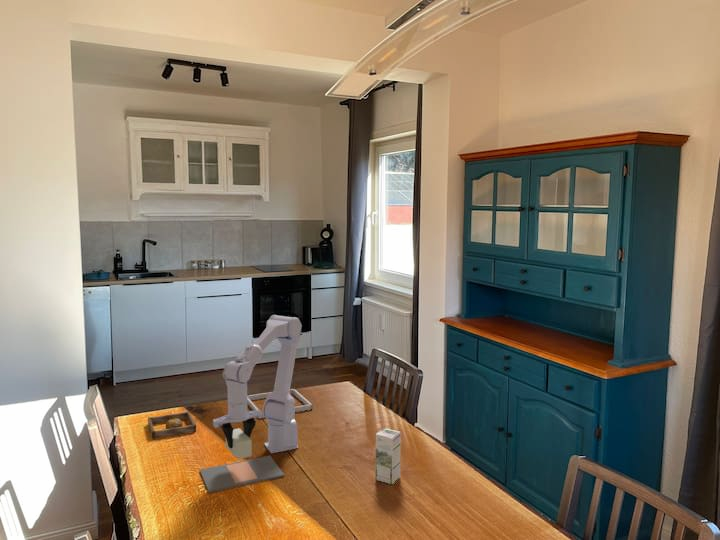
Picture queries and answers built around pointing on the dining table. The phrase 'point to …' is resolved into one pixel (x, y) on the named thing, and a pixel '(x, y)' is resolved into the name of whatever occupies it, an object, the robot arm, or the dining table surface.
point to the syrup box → (388, 455)
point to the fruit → (174, 423)
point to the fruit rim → (172, 431)
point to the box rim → (292, 391)
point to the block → (240, 444)
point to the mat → (240, 473)
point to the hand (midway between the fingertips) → (238, 445)
